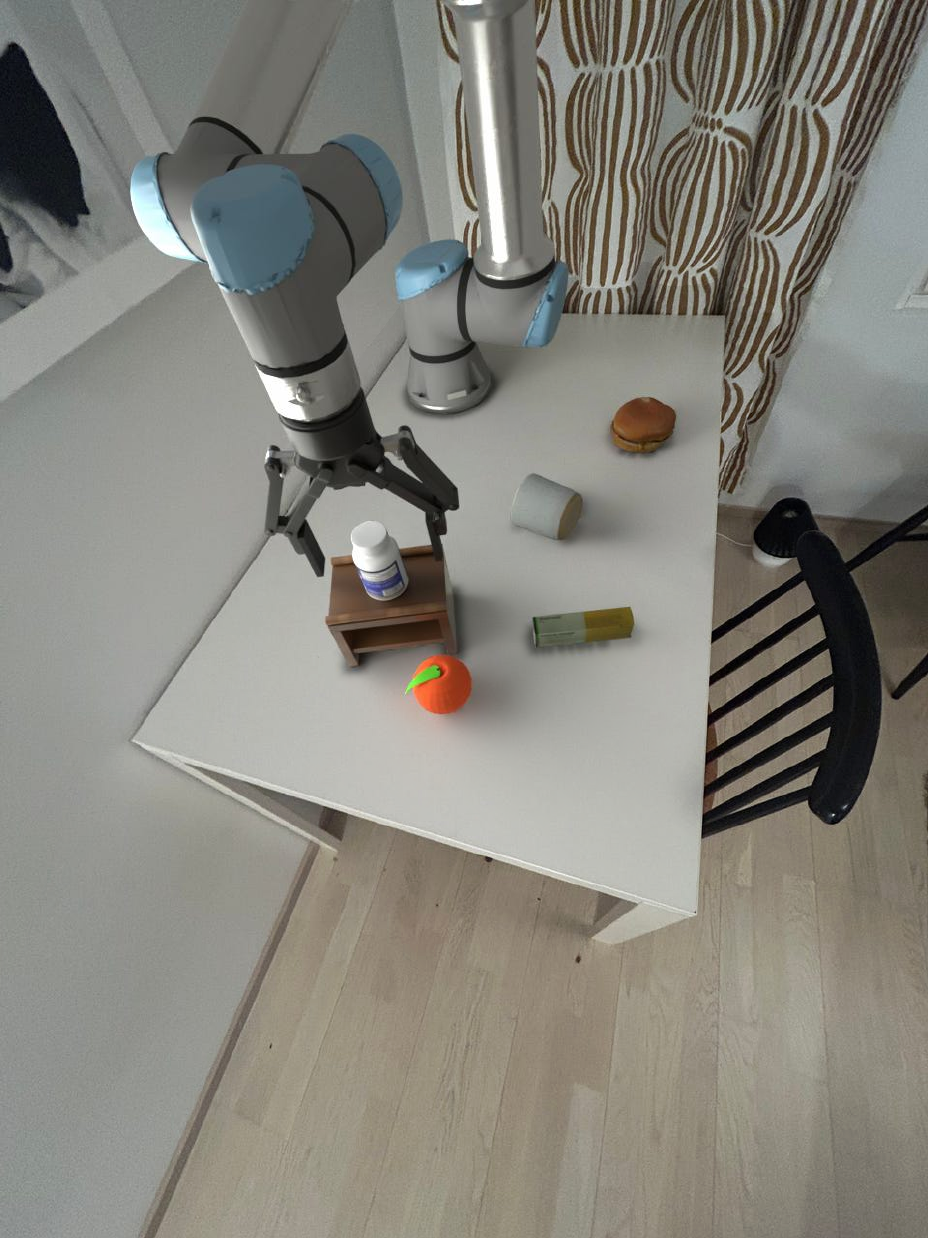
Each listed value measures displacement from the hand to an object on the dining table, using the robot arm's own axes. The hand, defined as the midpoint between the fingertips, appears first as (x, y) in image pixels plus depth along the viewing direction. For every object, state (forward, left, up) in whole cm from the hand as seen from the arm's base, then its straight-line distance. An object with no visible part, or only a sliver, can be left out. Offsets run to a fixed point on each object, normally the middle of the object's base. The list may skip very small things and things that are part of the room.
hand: (379, 560), depth 67 cm
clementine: (+12, +5, -14) cm, 19 cm away
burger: (-32, +39, -14) cm, 52 cm away
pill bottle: (0, 0, -4) cm, 5 cm away
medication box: (+5, +23, -14) cm, 27 cm away
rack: (0, 0, -13) cm, 14 cm away
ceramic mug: (-16, +22, -14) cm, 30 cm away
